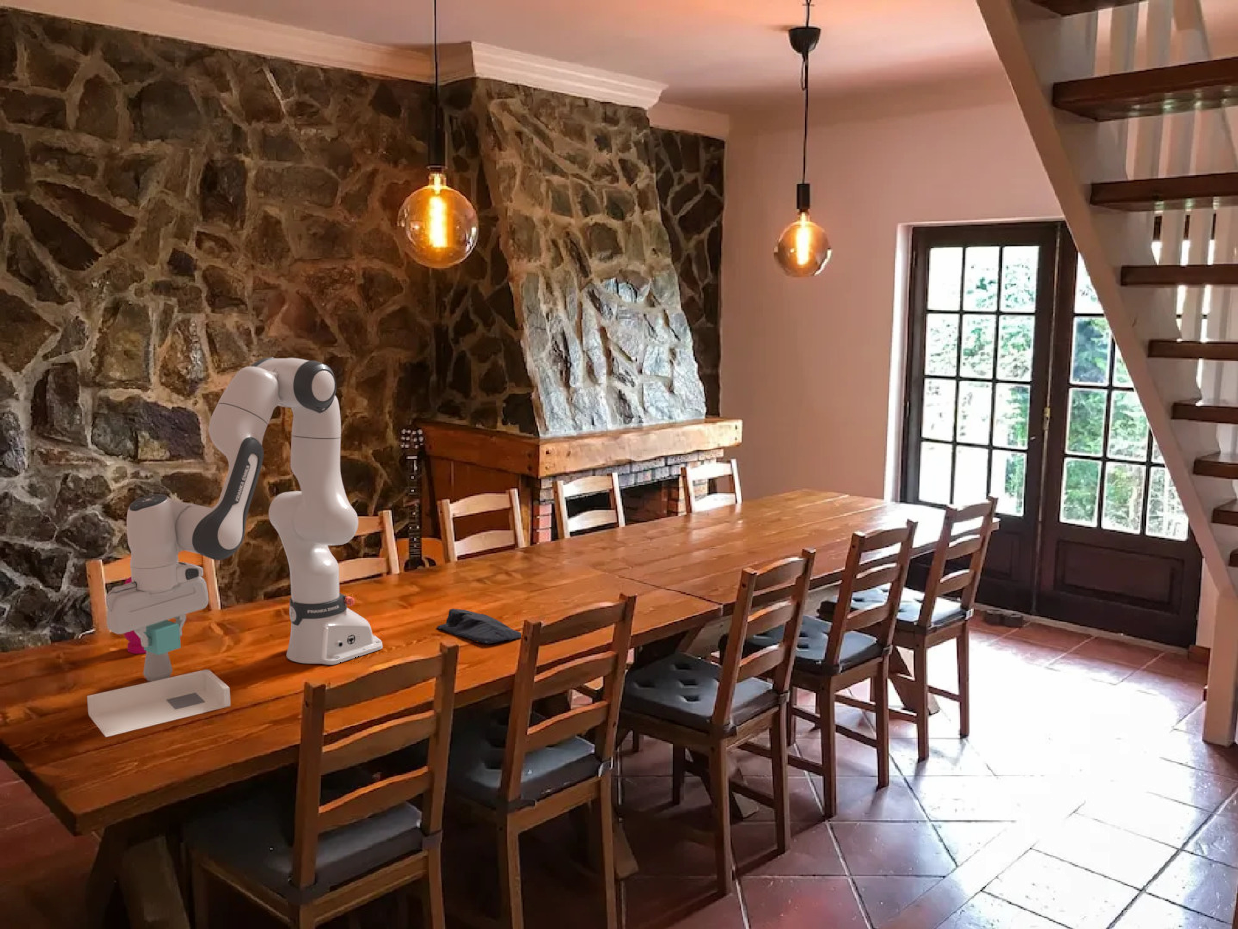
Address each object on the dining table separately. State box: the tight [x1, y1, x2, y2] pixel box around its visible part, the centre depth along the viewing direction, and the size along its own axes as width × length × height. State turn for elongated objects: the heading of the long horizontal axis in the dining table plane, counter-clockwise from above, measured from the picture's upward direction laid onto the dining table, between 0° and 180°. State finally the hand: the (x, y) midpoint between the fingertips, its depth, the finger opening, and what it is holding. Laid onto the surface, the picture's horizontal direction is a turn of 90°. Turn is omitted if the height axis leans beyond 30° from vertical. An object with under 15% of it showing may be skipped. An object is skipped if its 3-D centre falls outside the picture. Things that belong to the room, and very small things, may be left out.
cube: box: [144, 619, 182, 655], centre depth 208 cm, size 5×5×5 cm
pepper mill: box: [123, 576, 146, 655], centre depth 245 cm, size 7×7×20 cm
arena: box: [86, 669, 231, 738], centre depth 210 cm, size 24×13×5 cm, turn 130°
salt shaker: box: [142, 651, 173, 682], centre depth 226 cm, size 6×6×13 cm
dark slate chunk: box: [436, 608, 522, 645], centre depth 263 cm, size 15×22×5 cm
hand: (162, 641), depth 208 cm, fingers closed on cube, 5 cm apart
